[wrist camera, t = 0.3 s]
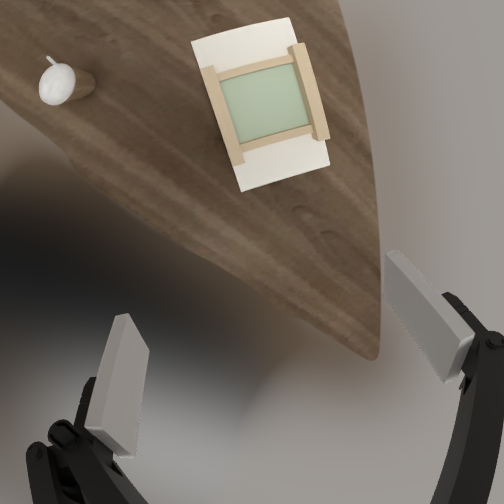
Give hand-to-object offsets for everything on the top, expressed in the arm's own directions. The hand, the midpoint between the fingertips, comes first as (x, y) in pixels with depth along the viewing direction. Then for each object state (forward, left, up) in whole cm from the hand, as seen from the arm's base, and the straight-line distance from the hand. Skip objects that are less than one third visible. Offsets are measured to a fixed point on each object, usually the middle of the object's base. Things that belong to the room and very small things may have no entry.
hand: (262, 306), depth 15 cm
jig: (-7, +7, -27) cm, 29 cm away
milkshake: (-18, -13, -27) cm, 36 cm away
